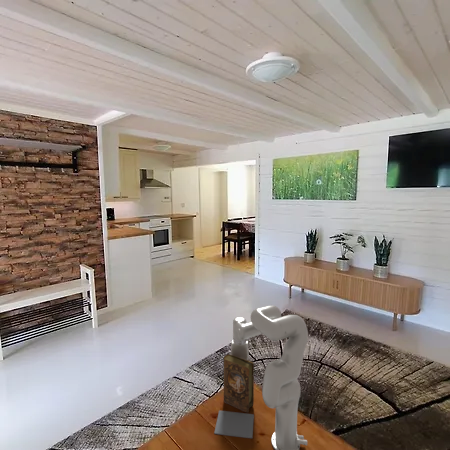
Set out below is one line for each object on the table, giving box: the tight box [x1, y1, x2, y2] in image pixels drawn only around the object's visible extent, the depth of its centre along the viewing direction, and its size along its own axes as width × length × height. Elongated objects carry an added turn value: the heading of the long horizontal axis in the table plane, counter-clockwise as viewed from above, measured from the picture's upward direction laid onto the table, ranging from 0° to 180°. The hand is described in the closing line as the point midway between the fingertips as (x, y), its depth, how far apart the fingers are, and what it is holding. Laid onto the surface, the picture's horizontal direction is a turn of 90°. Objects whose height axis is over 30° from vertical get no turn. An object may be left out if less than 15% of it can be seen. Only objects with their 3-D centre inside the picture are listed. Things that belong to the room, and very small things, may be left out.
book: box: [223, 353, 255, 414], centre depth 150 cm, size 16×6×25 cm, turn 58°
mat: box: [213, 409, 255, 439], centre depth 138 cm, size 18×14×1 cm
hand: (239, 370), depth 159 cm, fingers closed
